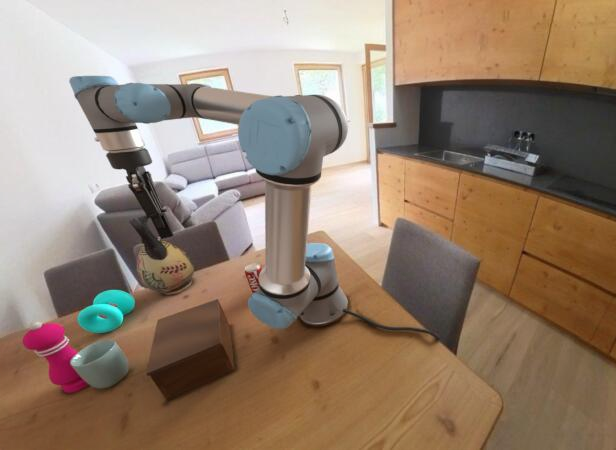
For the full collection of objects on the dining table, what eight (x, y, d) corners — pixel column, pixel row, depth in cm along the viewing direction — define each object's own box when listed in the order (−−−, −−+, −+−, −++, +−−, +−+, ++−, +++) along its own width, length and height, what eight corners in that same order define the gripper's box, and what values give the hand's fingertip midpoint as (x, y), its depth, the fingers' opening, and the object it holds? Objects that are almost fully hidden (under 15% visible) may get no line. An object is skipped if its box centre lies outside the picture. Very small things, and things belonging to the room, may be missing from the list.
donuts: (142, 308, 94) (128, 284, 90) (126, 329, 85) (109, 305, 81) (106, 315, 92) (90, 292, 87) (86, 338, 83) (67, 313, 78)
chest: (234, 370, 71) (221, 343, 67) (167, 401, 64) (148, 373, 60) (230, 326, 85) (219, 301, 80) (174, 348, 78) (159, 322, 74)
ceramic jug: (148, 287, 104) (107, 215, 91) (196, 270, 113) (165, 202, 100) (151, 310, 93) (105, 231, 79) (204, 289, 102) (171, 215, 89)
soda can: (272, 292, 98) (264, 264, 93) (259, 301, 94) (249, 272, 89) (264, 288, 101) (254, 260, 96) (250, 296, 97) (240, 268, 92)
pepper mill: (65, 400, 66) (9, 341, 57) (58, 385, 69) (4, 327, 61) (105, 376, 71) (60, 318, 62) (97, 363, 75) (53, 307, 66)
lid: (221, 345, 66) (220, 342, 66) (147, 376, 59) (145, 373, 59) (219, 301, 80) (218, 298, 80) (158, 322, 74) (157, 319, 73)
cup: (108, 396, 66) (86, 369, 62) (84, 391, 68) (60, 363, 63) (141, 367, 73) (123, 340, 69) (119, 363, 75) (99, 336, 70)
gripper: (112, 148, 69) (153, 231, 79) (96, 156, 59) (146, 251, 69) (150, 144, 72) (185, 224, 83) (141, 151, 62) (182, 242, 73)
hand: (167, 236), depth 76 cm, fingers closed
